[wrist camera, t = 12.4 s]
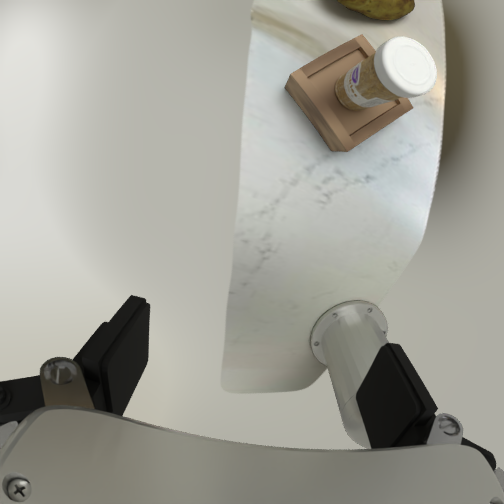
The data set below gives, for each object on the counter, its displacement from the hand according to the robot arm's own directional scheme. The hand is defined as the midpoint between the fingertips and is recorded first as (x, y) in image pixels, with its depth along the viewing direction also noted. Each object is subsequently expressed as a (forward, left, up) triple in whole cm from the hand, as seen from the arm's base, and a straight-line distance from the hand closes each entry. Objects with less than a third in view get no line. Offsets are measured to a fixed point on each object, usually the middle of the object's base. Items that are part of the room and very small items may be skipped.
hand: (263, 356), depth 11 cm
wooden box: (+6, -17, -29) cm, 34 cm away
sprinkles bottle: (+5, -17, -23) cm, 29 cm away
